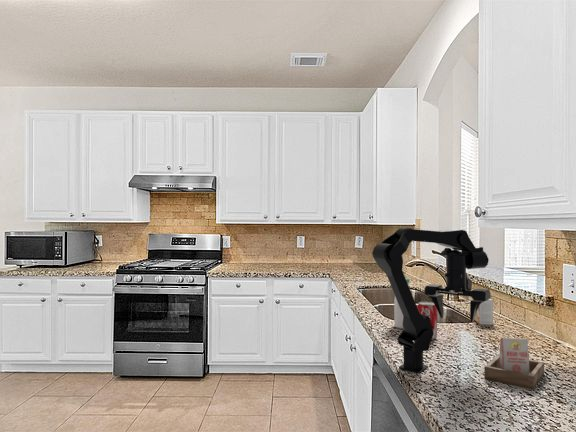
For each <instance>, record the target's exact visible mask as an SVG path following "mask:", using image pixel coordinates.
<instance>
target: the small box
mask: <svg viewBox="0 0 576 432" xmlns="http://www.w3.org/2000/svg"><path fill="white" fill-rule="evenodd" d="M474 321H475V322H476V323H477V324H479V325H482V326H483V325H485V326H488V325H490V326H491V325H492V326H493V325H494V299H489V300H487V301H485V302H483V303H481V304H480V306H479V308H478V310H477V312H476V315H475V318H474Z"/></svg>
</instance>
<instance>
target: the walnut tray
mask: <svg viewBox="0 0 576 432" xmlns="http://www.w3.org/2000/svg"><path fill="white" fill-rule="evenodd" d="M483 368H484V369H483V370H484V371H483V372H484V380H487V381H492V382H496V383H500V384H505V385H509V386H514V387H518V388H523V389H527V390H530V391H531V390H532V391H534V390H535V388H536V387H537V386H538V384H539V383H540V381H541V380H542V379H543V377H544V376H545V362H543V361H538V360H533V359H529V374H525V373H520V372H515V371H510V370H505V369H500V353H499V354H497V355H496V356H494V358H492V359H491V360H490V361H489V362H488V363H487V364H486V365H485V366H484V367H483Z"/></svg>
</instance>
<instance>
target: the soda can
mask: <svg viewBox="0 0 576 432" xmlns="http://www.w3.org/2000/svg"><path fill="white" fill-rule="evenodd" d="M417 308H418V310H419V312H420V314H423V315H426V316H429V318H430V321H431V324H432V326H433V327H434V329H432V330H433V334H434V335H433V337H432V340H431V341H433V340H436V338H437V337H438V310H437V308H436V306H435V304H434V303H433V301H419V302H418V305H417Z"/></svg>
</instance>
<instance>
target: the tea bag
mask: <svg viewBox="0 0 576 432" xmlns="http://www.w3.org/2000/svg"><path fill="white" fill-rule="evenodd" d="M499 341H500V343H499V354H500V369H505V370H510V371H515V372H520V373H525V374H529V360H530V354H529V352H530V351H529V342H528V338H514V337H500V340H499Z"/></svg>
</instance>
